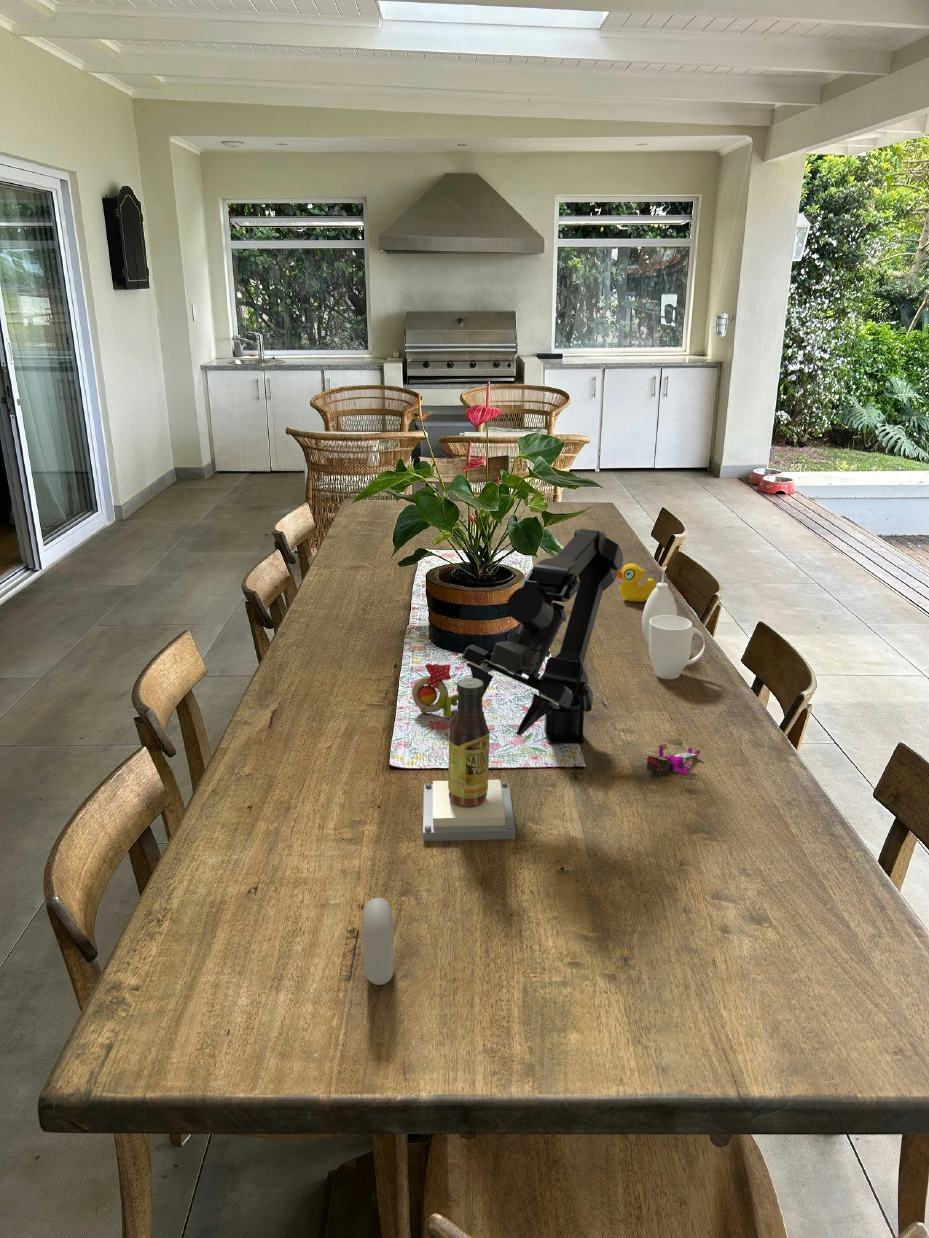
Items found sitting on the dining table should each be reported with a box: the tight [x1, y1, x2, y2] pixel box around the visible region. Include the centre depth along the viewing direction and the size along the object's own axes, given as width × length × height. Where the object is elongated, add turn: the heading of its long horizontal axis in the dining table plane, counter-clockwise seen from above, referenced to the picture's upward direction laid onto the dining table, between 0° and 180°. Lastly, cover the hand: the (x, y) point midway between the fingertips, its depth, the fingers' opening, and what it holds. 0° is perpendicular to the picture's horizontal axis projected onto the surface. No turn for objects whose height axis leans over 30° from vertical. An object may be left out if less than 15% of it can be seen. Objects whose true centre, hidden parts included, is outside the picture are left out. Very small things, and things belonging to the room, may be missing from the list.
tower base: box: [422, 779, 516, 842], centre depth 145 cm, size 14×14×3 cm
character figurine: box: [646, 743, 701, 776], centre depth 159 cm, size 6×5×12 cm
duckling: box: [616, 562, 657, 603], centre depth 239 cm, size 11×5×10 cm, turn 70°
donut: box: [362, 897, 395, 986], centre depth 111 cm, size 10×4×10 cm, turn 4°
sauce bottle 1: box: [447, 677, 490, 807], centre depth 141 cm, size 6×6×20 cm
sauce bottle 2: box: [641, 572, 678, 644], centre depth 208 cm, size 8×8×18 cm
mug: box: [648, 615, 706, 680], centre depth 195 cm, size 12×9×12 cm
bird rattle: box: [411, 663, 458, 718], centre depth 178 cm, size 6×11×9 cm
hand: (494, 723), depth 149 cm, fingers open, 9 cm apart
